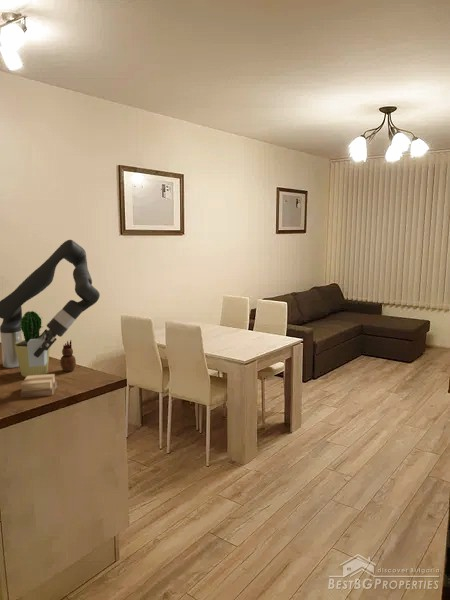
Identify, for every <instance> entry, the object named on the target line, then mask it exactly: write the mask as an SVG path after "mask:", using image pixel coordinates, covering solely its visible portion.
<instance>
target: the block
mask: <svg viewBox="0 0 450 600" xmlns="http://www.w3.org/2000/svg"><path fill="white" fill-rule="evenodd" d="M42 340H43V339H30V340H29V341H28V342H27V349H28V361H29V367H35V366H45V365H46V363H47V351H46V350H45V351H43V353H42V354H41V355H40V356H39V357H38V358H37V357H36V356H34V353H35V352H36V351H37V349H38V348H39V347H40V346H41V344H42V343H43V342H42Z"/></svg>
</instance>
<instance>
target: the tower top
mask: <svg viewBox="0 0 450 600" xmlns="http://www.w3.org/2000/svg"><path fill="white" fill-rule="evenodd" d="M55 377H56V374H55V373H46V374H43V375H27V377H25V378H24V380H23V381H22V382H21V384H20V385H21V387H20V389H21V390H22V391H35V390H50V389H51V388H52V386H53V384H54V382H55V380H56V378H55Z"/></svg>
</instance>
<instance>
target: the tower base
mask: <svg viewBox="0 0 450 600" xmlns="http://www.w3.org/2000/svg"><path fill="white" fill-rule="evenodd" d="M57 387H58V380H57V379H55V382H54V384H53V386H52V388H51V389H50V390H35V391H22V389H21V390H20V398H34V397H48V396H49V397H50V396H53V395H54V393H55V391H56V389H57Z"/></svg>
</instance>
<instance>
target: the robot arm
mask: <svg viewBox="0 0 450 600" xmlns="http://www.w3.org/2000/svg"><path fill="white" fill-rule="evenodd" d="M63 260H66V261H67V262H68V263H69V264H72V265H73V267H74V269H73V270H72V271H73V272H72V278H73V280H74V291H75V294H76V295H77V296H78V297H79V298H80V299H81V300H80V301H76V300H74V299H69V301H68V302H67V303H65V305H64V306H63V307H62V309H60V310H59V311H58V312H57V313H56V314H55V315H54V316H53V317H52V319H51V320H50V321H48V323H47V324H46V328H48V329H44V330H43V332H42V333H40V334H39V337H38V338H37V339H43V340H42V342H43V343H42V344H41V346H40V347H39V348H38V349H37V351H36V352H35V353H34V356H36V357H37V358H38V357H39V356H40V355H41V354H42V353H43V351H45V350H46V351H47V350H48V349H49V348H50V349H51V347H52V345H54V343H56V341H57V338H56V337H57V336H58V337H63V336H64V334H65V333H66V332H67V331H68V330H69V329H70V327H71V326H72V325H73V324H74V322H75V321H76V320H77V318H78V317H79V316H80V315H81V314H82V313H84V311H86V310H89V308H91V307H92V306H94V305H95V304H96V303H97V302H98V301H99V299H100V297H101V296H100V292H99V291H98V289H96V288H95V286H93V285H92V284H93V280H92V279H93V278H92V277H91V274H90V271H89V269H88V261H87V260H88V259H87V252H86V250H85V249H84V248H83V247H82V246H81V245H79V244H78V243H76V241H74V240H72V239H68V240H65V241H64V242H62V243H61V244H60V246H59V247H57V248H56V250H55V251H54V252H53V253H52V254H51V255H50V256H49V257H48V258H47V259H46V260H45V261H44V262H43V263H42V264H41V265H40V266H39V267H37V268H36V269H35V270H34V271H33V272H31V274H29V275H28V276H27V278H26V277H25V279H24V280H23V281H22V282H21V283H20V284H19V285H18V286H17V287H16V288H15V289H14V290H13V291H12V292H11V293H9V294H8V295H7V296H5V297H4V298H3V299H1V300H0V319H2V322H1V325H0V343H1V355H2V357H1V358H2V367H3V368H7V369H11V368H12V369H13V368H20V366H19V362H18V358H17V354H16V350H15V345H14V344H15V343H16V342H19V341H22V340H23V337H22V336H23V335H22V333H21V332H22V330H21V329H20V328H21V321H22V317H23V309H22V305H24V304H25V303H26V302H28V301H29V300H31V299H32V298H34V297H35V296H37V295H39V294H40V293H41V292H43V291H44V290H46V289H47V287H49V286H50V285H51V284H52V283H53V280H54V278H55V272H56V268H57V266H58V265H59V263H60V262H61V261H63ZM19 323H20V324H19Z"/></svg>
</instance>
